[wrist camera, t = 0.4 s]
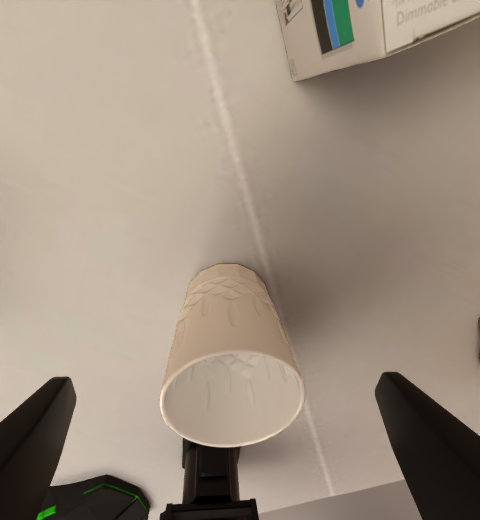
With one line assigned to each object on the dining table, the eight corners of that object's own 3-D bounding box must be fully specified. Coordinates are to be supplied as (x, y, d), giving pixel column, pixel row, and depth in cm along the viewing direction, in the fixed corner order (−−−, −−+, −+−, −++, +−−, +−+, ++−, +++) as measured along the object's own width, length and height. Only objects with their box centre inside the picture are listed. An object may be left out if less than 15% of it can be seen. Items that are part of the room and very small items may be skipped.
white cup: (163, 316, 25) (137, 430, 16) (203, 239, 22) (197, 329, 13) (244, 344, 27) (259, 458, 19) (290, 278, 24) (334, 377, 16)
